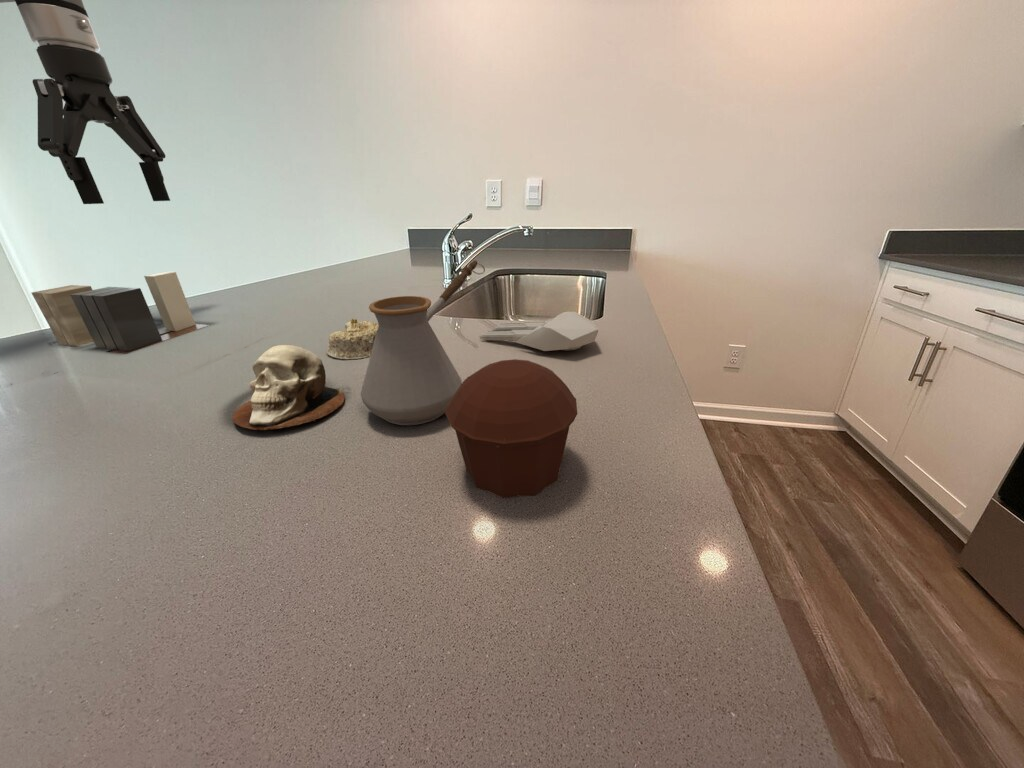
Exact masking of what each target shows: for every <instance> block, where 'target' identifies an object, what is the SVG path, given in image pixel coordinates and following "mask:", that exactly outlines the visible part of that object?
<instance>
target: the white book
mask: <svg viewBox="0 0 1024 768" xmlns="http://www.w3.org/2000/svg"><path fill="white" fill-rule="evenodd" d="M143 278H144V280H145V282H146V284H147V287H148V290H149V292H150V294H151V297H152V299H153V301H154V303H155V306H156V308H157V311H158V314H159V316H160V318H161V320H162V323H163V326H164V328H165V330H166V331H179V330H182V329H185V328H188V327H191V326H194V325H196V324H197V323H196V322H195V319H194V316H193V314H192V311H191V309H190V306H189V303H188V301H187V297H186V295H185V292H184V290H183V288H182V285H181V282H180V279H179V277H178V275H177V272H176V271H162V272H157V273H153V274H147V275H144V276H143Z"/></svg>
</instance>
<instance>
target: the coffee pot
mask: <svg viewBox="0 0 1024 768" xmlns="http://www.w3.org/2000/svg"><path fill="white" fill-rule="evenodd" d="M478 265H479V266H481V268H482V269H483V272H477V271H475V269H476V267H477V266H478ZM485 272H486V268H485V266H484V265H483V264H482V263H480V262H478V260H475V259H474V260H473V261H471V262H470V263H469V264H468V266H464V268H463V269H462V272H460V273H459V274H458V275H456V277H453V279H452V281H451V282H450V283H449V284H448V285H447V287H446V288H445V290H444V291H443V292H442V293H441V295H440V296H439V297H438V299H437V300H436V301H435V302H434V303H433V304H432V301H431V300H430V298H428V297H425V296H417V295H402V296H401V295H400V296H391V297H386V298H382V299H378V300H376V301H373V302H371V303H370V304H369V306H368V310H369V311H370V312H371V313H373V314H374V316H375V319H376V321H377V323H378V324H379V326H378V329H377V333H376V337H375V341H374V345H373V349H372V352H371V356H370V357H369V361H368V363H367V364H368V365H367V368H366V371H365V375H364V379H363V384H362V387H361V391H360V397H361V401H362V403H363V404H364V406H365V407H366V408H367V409H368V410H369V411H370V412H371V413H372V414H373V415H375V416H377V417H379V418H381V419H383V420H386V422H388V423H391V424H394V425H398V426H415V425H422V424H425V423H429V422H432V421H434V420H437V419H438V418H440V417H441V416H443V415H444V414H445V411H446V409H447V407H448V405H449V403H450V400H451V398H452V397H453V396H454V395H455V393H456V391H457V390H458V388H459V387H460V386H461V384H462V383H463V381H462V378H461V376H460V375H459V373H458V371H457V370H456V368H455V366H454V364H453V362H452V361H451V359H450V357H449V356H448V354H447V352H446V350H445V348H444V347H443V345H442V344H441V342H440V340H439V338H438V337H437V335H436V333H435V331H434V329H433V328H432V326H431V325H430V322H429V321H430V320H431V319H432V318H433V316H435V314H436V313H437V312H438V310H439V309H440V308H441V307H442V306H443V305H444V303H446V302H447V301H448V300H449V299H450V298H451V297H452V296H453V295H454V294H455V293H456V292H457V291H458V290H459V289H460V288H461V287H462V286H463V285H464V283H465V281H466V280H467V278H468V277H470V276H472V275H473V273H474V274H475V275H483V274H484V273H485Z"/></svg>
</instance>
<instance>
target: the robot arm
mask: <svg viewBox="0 0 1024 768" xmlns="http://www.w3.org/2000/svg"><path fill="white" fill-rule="evenodd" d="M3 3H15V4H16V6H17V9H18V11H19V13H20V16H21V17H22V20H23V24H24V25H25V28H26V31H27V32H28V35H29V37H30V40H31V42H32V43H34V44H36V45H37V47H36V49H35V51H36V53H37V55H38V58H39V61H40V62H41V65H42V67H43V69H44V72H45V74H46V75H47V77H49V78H34V79H32V85H33V88H34V90H35V94H36V96H37V146H38V148H39V149H40V150H41V151H44V152H47V153H48V154H49V155H50V156H51V157H53V158H58V159H59V160H60V162H61V165H62V167H63V169H64V171H65V173H66V175H67V177H68V179H69V181H72V182H73V184H74V186H75V188H76V191H77V193H78V195H79V197H80V200H81V202H82V204H83V205H101V204H105V202H104V200H103V198H102V195H101V192H100V191H99V187H98V186H97V184H96V180H95V179H94V177H93V174H92V172H91V169H90V168H89V167H90V166H89V165H88V162H87V159H86V158H85V157H84V156H78V154H79V150H80V147H81V145H82V141H83V138H84V135H85V131H86V128H87V125H88V122H94V123H97V124H104V125H105V126H106V127H108V128H110V129H111V130H113V132H114V133H115V134H116V135H117V136H118V137H119V138H120V139H121V140H122V141H123V143H125V144H126V145H127V146H128V147H129V148H130V150H132V151H133V152H134V153H135V154H136V155H137V157H138V158H139V159H140V160H141V161H139V162H138V165H139V167H140V170H141V173H142V175H143V177H144V180H145V182H146V183H145V184H146V185H147V189H148V191H149V193H150V196H151V199H152V202H170V201H171V198H170V196H169V193H168V191H167V187H166V185H165V182H164V181H165V179H164V175H163V173H162V170H161V167H160V164H159V163H160V162H161V163H162V162H164V159H166V154H165V152H164V150H163V149H162V147H161V146H160V144H159V143H158V142H157V140H156V139H155V137H154V136H153V134H152V132H151V131H150V129H149V128H148V127H147V125H146V124H145V123H144V121H143V119H142V118H141V116H140V114H139V113H138V112H137V110H136V108H135V105H134V103H133V101H132V99H131V97H129V96H128V95H114V93H113V92H112V91H111V88H110V86H111V85H112V83H113V78H112V75H111V73H110V70H109V67H108V64H107V62H106V58H105V57H104V56H102V54H101V53H99V52H100V51H101V47H100V45H99V42H98V39H97V37H96V34H95V32H94V29H93V27H92V24H91V21H90V17H89V15H88V13H87V10H86V8H85V5H84V2H83V0H0V4H3Z"/></svg>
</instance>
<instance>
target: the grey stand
mask: <svg viewBox="0 0 1024 768" xmlns="http://www.w3.org/2000/svg"><path fill="white" fill-rule="evenodd" d="M71 297H72V299H73V301H74V303H75V305H76V307H77V309H78V311H79V313H80V315H81V317H82V319H83V321H84V323H85V325H86V327H87V329H88V331H89V333H90V335H91V337H92V339H93V341H94V342H93V343H94V345H95V348H97V349H103V350H106V353H114V354H123V355H127V354H131V353H133V352H136V351H139V350H141V349H144V348H148V347H151V346H154V345H156V344H159V343H162V342H165V341H168V340H171V339H174V338H177V337H180V336H183V335H186V334H189V333H191V332H195V331H197V330H201V329H204V328H207V327H210V326H211V324H201V323H199V324H198V323H195V324H196V325H194V326H191V327H188V328H185V329H182V330H179V331H171V330H168V331H166V332H162V333H160V331H159V329H158V327H157V324H156V322H155V320H154V317H153V314H152V313H151V310H150V307H149V306H148V303H147V300H146V298H145V296H144V293H143V291H142V289H141V288H140V287H125V286H124V287H123V286H122V287H121V286H106V287H105V286H104V287H101V288H96V289H92V290H90V291H85V292H80V293H75V294H71Z"/></svg>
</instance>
